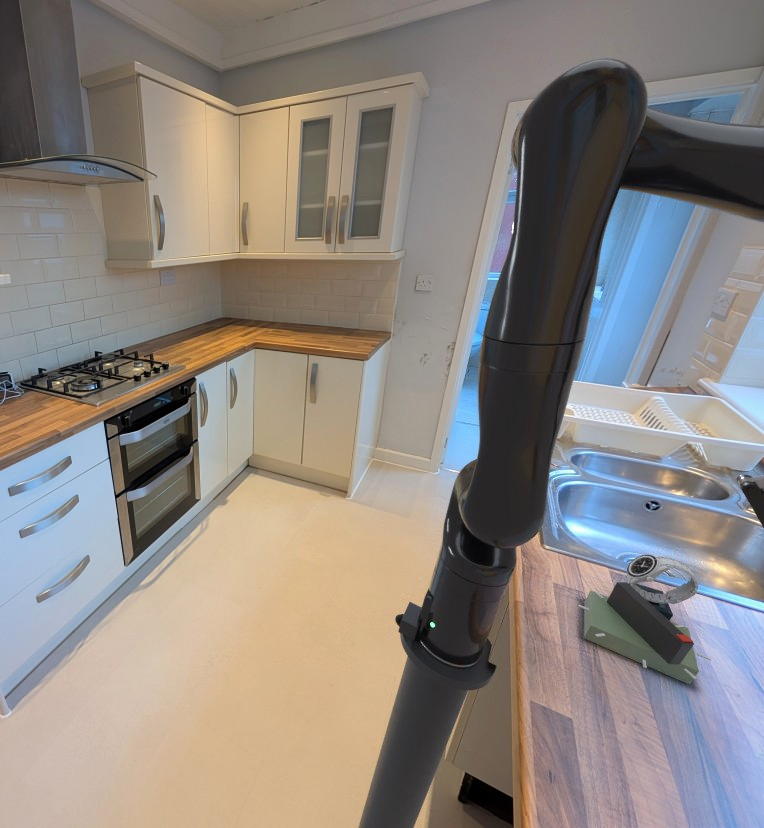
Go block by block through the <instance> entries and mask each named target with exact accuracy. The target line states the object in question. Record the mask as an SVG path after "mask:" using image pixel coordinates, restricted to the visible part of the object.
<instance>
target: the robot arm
mask: <svg viewBox="0 0 764 828" xmlns="http://www.w3.org/2000/svg"><path fill="white" fill-rule="evenodd" d="M648 95H649V93H648V89H647V86H646V82H645V80H644V79H643V77H642V75H641V73H640V72H639V71H638V70H637V69H636V68H635V67H634V66H633V65H631V64H629V63H628V62H625V61H623V60H621V59H616V58H609V57H608V58H597V59H592V60H588V61H585V62H582V63H580V64H578V65H575V66H573V67H571V68H570V69H568V70H566V71H565V72H563V73H561V74H560V75H558V76H557V77H556V78H555V79H553V80H552V81H550V82H549V83H548V84H547V85H546V86H545V87H544V88H543V89H542V90H541V91H540V92H539V93H537V95H536V96H535V98H533V100H532V101H531V102H530V103H529V104H528V106H527V108H526V109H525V110H524V112H523V114H522V116H521V118H520V119H519V121H518V123H517V125H516V128H515V129H514V132H513V135H512V138H511V144H510V156H511V161H512V164H513V166H514V168H515V170H516V187H515V201H514V212H513V223H512V231H511V237H510V241H509V247H508V249H507V254H506V257H505V260H504V263H503V266H502V268H501V270H500V273H499V277H498V279H497V281H496V285H495V288H494V290H493V294H492V298H491V300H490V304H489V307H488V311H487V314H486V320H485V324H484V328H483V334H482V339H481V340H482V341H481V346H480V351H479V359H478V371H477V408H478V409H477V412H478V413H477V414H478V427H479V428H478V429H479V443H478V451H477V455H476V456H477V457H476V458H475V459H473V460H471V461H470V462H468V463H467V464H465V465H464V466H463V467H462V468H461V469H460V471H459V473H458V474H457V476H456V478H455V481H454V483H453V487H452V490H451V493H450V498H449V502H448V506H447V509H446V513H445V517H444V522H443V528H442V538H441V544H440V547H439V551H438V554H437V557H436V558H437V559H436V562H435V565H434V569H433V572H432V576H431V579H430V582H429V586H428V588H427V591H426V593H425V595H424V598H423V601H422V605H421V606H420V605H417V604H416V603H413V602H411V601H409V602H408V605H407V606H406V609H405V611H404V613H401V614H397V615H396V616H395V619H394V621H395V623H396V625H397V626H398V633H399V634H400V633H401V634H403V635H405V636H407V637H408V638H410V639H412V640H416V641H418V642H419V643H420V644H421V646H422V647H423V648H424V650H425V651H426V652H427V653H428V654H429V655H431V656H432V657H433V658H434V659H436V660H437V661H439V662H441V663H443V664H445V665H447V666H450V667H453V668H459V669H467V668H471V667H473V666H475V665H476V664H477V663H478V662H479V660H480V658H481V655H482V652H483V648H484V646H485V643H486V641H487V638H488V639H489V635H490V633H491V631H492V628H493V625H494V623H495V621H496V618H497V615H498V612H499V610H500V608H501V606H502V603H503V600H504V597H505V595H506V593H507V589H508V587H509V585H510V583H511V580H512V578H513V575H514V572H515V570H516V566H517V547H520V546H522V545H523V546H524V545H525V544H527V543H528V542H530V541H531V540H532V539H533V538H535V537H536V536H537V535H538V533H539V532H540V531H541V529H542V528H543V526H544V524H545V520H546V515H547V505H548V504H547V503H548V492H549V483H550V482H549V481H550V473H551V464H552V459H553V453H554V449H555V446H556V442H557V440H558V436H559V433H560V430H561V427H562V423H563V420H564V416H565V413H566V409H567V405H568V403H569V398H570V394H571V390H572V388H573V383H574V380H575V377H576V374H577V371H578V368H579V365H580V361H581V356H582V353H583V348H584V345H585V340H586V336H587V331H588V328H589V322H590V316H591V311H592V306H593V303H594V302H593V301H594V295H595V291H596V286H597V280H598V273H599V268H600V261H601V260H600V259H601V254H602V247H603V241H604V237H605V234H606V231H607V227H608V224H609V221H610V217H611V215H612V211H613V209H614V206H615V203H616V200H617V197H618V195H619V192H620V190H623V191H629V192H636V193H641V194H647V195H652V196H657V197H662V198H665V199H671V200H675V201H680V202H683V203H687V204H691V205H695V206H698V207H703V208H705V209H709V210H713V211H717V212H721V213H724V214H728V215H730V216H736V217H739V218H742V219H747V220H750V221H753V222H756V223H762V224H764V124H749V123H748V124H747V123H736V122H735V123H734V122H723V121H715V120H706V119H700V118H699V119H698V118H693V117H689V116H682V115H677V114H673V113H670V112H666V111H663V110H659V109H658V108H653V107H651V106H649V102H648V101H649V96H648ZM735 480H736V482H737V484H738V486H739V487H740V489H741V492H742V493H743V495H744V497H745V498H746V500H747V501H748V504H749V505H750V507H751V509H752V510H753V512H754V513H755V516H756V518H757V519H758V522H759V523H760V524H761V526H762V528H763V529H764V475H759V476H752V475H749V474H740V475H738V476H737V477H736V479H735Z"/></svg>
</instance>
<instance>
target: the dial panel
mask: <svg viewBox="0 0 764 828" xmlns="http://www.w3.org/2000/svg"><path fill="white" fill-rule="evenodd" d="M608 598H609V596H607V595H604V594H602V593H600V592H598V591H594V590H592V589H590V591H589V592H588V594H587V596H586V598H585V599H584V603H583V604H584V605H582V604H578V605H577V606H578V607H579V608H581V609H583V639H585V640H586V641H589V642H591V643H594V644H596V645H599V646H601V647H603V648H605V649H607V650H610V651H611V652H614V653H616V654H618V655H621V656H623V657H625V658H627V659H630V660H632V661H634V662H637V663H639V664H641V665H642V667H643V668H644V669H647V668H650V669H653V670H655V671H658V672H660V673H662V674H664V675H667V676H669V677H671V678H673V679H675V680H678V681H680V682H683V683H685V684H687V685H691V683H692V682H693V681H694V680H697V679H698V678H697V675H698V673H699V672H700V669H699V665H698V661H697V657H696V656H698V657H701V658H703V659H706V660H707V661H710V662H711V661H712V658H711V657H710V656H706V655H704V654H702V653H700V652H697V653H695V649H694V645H693V646H692V648H691V649H690V651H689V652H688V654H687V655H686V656H685V658H684V659H683V661H682V662H681V663H680V664H668V663H667V662H666V661H665V660H664V659H663V658H662V657H661V656H660V655H659V654H658V653H657V652H656V651H655V650H654V649H653V648H652V647H651V646H650V645H649V644H648V643H647V642H646V641H645V640H644V639H643V638H642V637H641V636H640V635H639V634H638V633H637V632H636V631H635V630H634V629H633V628H632V627H631V626H630V625H629V624H628V623H627V622H626V621H625V620H624V619H623V618H622V617H621V616H620V615H619V614H618V613H617V612H616V611H615V610H614V609H613V608H612V607H611V606H610V605H609V604H608V603H607V600H608ZM670 622H671V623H672V624H673V625H675V626H676V627H677V628H678V629H679V630H680V631H681V632H682V633H683V634H684V635H687V636H688V637H689V638H690V639H691V640H692V636H691V633H690V629H689V627H688V626H685V625H684V624H679V623H676V622H674V621H671V620H670Z"/></svg>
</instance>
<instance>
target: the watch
mask: <svg viewBox="0 0 764 828" xmlns="http://www.w3.org/2000/svg"><path fill="white" fill-rule="evenodd" d="M671 569H675V570H677V571H681V572H683V573H685V574H687V575H688V576H689V577H690V580H688V581H687V582H684V583H682V584H681V585H679V586H677V587H675V588H673V589H670V590H667V591H665V593H664V591H662V590H659V589H657V588H653V587H649V586H646V585H643V584H640V583H648V582H650V583H653V582H654V581H655V580H656V579H658V578H659V577H660V576H662V574H663V573H666V572H668V571H670V570H671ZM626 577H627V580H628V582H627V583H628V584H629V585H630V586H631V587H633V588H634V589H635V590H636V591H637V592H638V593H639V594H640V595H641V596H643V597H644V598H645V599H646V600H647V601H648V602H649V603H650V604H651V605H652V606H654V607H655V608H656V609H657V610H658V611H659V612H660V613H661V614H662V615H663V616H665V617H666V618H667V619H668V620H669V621H671V619H672V618H673V616H674V613H673V610H672V608H671V607H670V605H676V604H679V603H682V602H684V601H687V600H689V599H691V598H693V597H694V596H695V595H696V594H697V591H698V589H699V581H698V579H697V578H696V576H695V575H694V573H693V571H692V570H691V569H690V568H689V567H688V565H686V564H685V563H684V562H682V561H680V560H678V559H675V558H672V557H668V556H663V555H654V554H642V555H639V556H637V557H635V558H633V559H632V560H631V561H629V563H628V565H627V567H626Z"/></svg>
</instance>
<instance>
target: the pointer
mask: <svg viewBox="0 0 764 828" xmlns="http://www.w3.org/2000/svg"><path fill="white" fill-rule="evenodd" d="M628 583H629V582H627V581H617V582H616V583H615V585H614V587H613V589H612V591H611V592H610V595H609V596H608V597H609V598H608V600H607V603H608V604H609V605H610V606H611V607H612V608H613V609H614V610H615V611H616V612H617V613H618V614H619V615H620V616H621V617H622V618H623V619H624V620H625V621H626V622H627V623H628V624H629V625H630V626H631V627H632V628H633V629H634V630H635V631H636V632H637V633H638V634H639V635H640V636H641V637H642V638H643V639H644V640H645V641H646V642H647V643H648V644H649V645H650V646H651V647H652V648H653V649H654V650H655V651H656V652H657V653H658V654H659V655H660V656H661V657H662V658H663V659H664V660H665V661H666V662H667V663H668V664H680V663H681V662H682V661H683V659H684V658H685V656H686V655H687V654H688V652H689V651H690V649H691V648H692V646H693V647H694V645H695V643H694V640H692V638H691V639H690V638H689V637H688V636H687V635H684V634H683V633H682V632H681V631H680V630H679V629H678V628H677V627H676V626H675V625H673V624H672V623H671V622H670V621H671V620H670V621H669V620H668V619H667V618H666V617H665V616H663V615H662V614H661V613H660V612H659V611H658V610H657V609H656V608H655V607H654V606H652V605H651V604H650V603H649V602H648V601H647V600H646V599H645V598H644V597H643V596H641V595H640V594H639V593H638V592H637V591H636V590H635V589H634V588H633V587H631V586H630V585H629V584H628Z"/></svg>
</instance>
